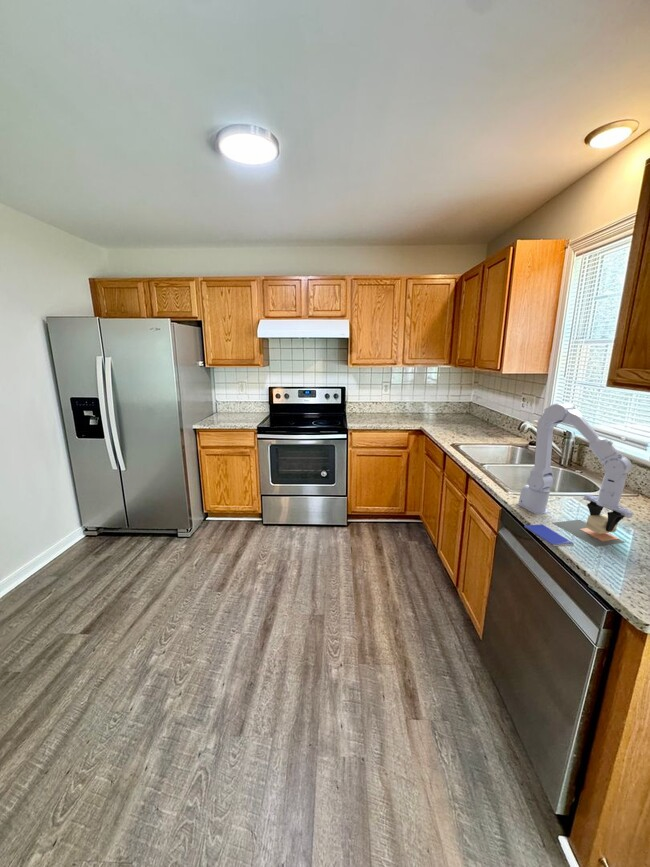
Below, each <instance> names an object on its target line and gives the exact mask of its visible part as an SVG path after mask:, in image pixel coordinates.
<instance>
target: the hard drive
mask: <svg viewBox="0 0 650 867" xmlns="http://www.w3.org/2000/svg"><path fill="white" fill-rule="evenodd" d="M524 528H525V529H527V530H528V531H530V532H531V533H533V534H534V535H536V536H537V537H538V538H540V539H541V540H543V541H545V542H546V543H547V544H548V545H550V546H553V547H557V546H562V547H563V546H571V545H572V544H575V543H574V542H572V541H570V540H569V539H567V538H566V537H564V536H562V535H560V534H559V533H557V532H556V531H555V530H553V529H551V528H549V526H548V527H547V525H544V524H529V525H527V524H526V525H524Z"/></svg>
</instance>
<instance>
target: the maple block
mask: <svg viewBox="0 0 650 867" xmlns="http://www.w3.org/2000/svg"><path fill="white" fill-rule="evenodd" d="M607 522H608V514H606V513H604V514H601V513H600V515H591V516H590V515H588V517H587V519H586V528H588V529H590V530H592V531H594V532H596V533H598V534H602V533H609V534H610V533H616V531H617V527H618V524H619V522H618V523H617V524H616V525H615V527H614V528H613V530H612V531H606V526H607Z"/></svg>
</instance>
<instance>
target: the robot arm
mask: <svg viewBox="0 0 650 867" xmlns="http://www.w3.org/2000/svg"><path fill="white" fill-rule="evenodd" d="M561 423H562V424H567V425H571V426H573V428H574V429H576V430H577V431H578V432H579V433H580V434H581V435H582V436H583V437H584V438H585V439H586V440H587V441H588V443H589V446H588V448H589V449H590V450H591V452H592V453H593V454H594V455H595V457H596V458H597V459H598V460H599V461H600V462H601V463H602V464H603V466H602V467H603V470H604V475H603V478H602V481H601V484H600V488H599V493H598V496H595V495H592V494H588V493H587V494H584V496H583V500H585V501H588V502H589V503H587V504H586V507H588V508H587V509H588V510H589V516H591V515H601V513H602V511H603V509H604V508H605V509H607V510H610V511H608V512H607V515H608V522H607V526H606V531H612V530H613V528H614V527H615V525H616V524H617V523H618V524H619V522H621V520H622V519H624V518H627V519H630V518H633V515H634V512H633V511H631V510H629V509H627V508H625V507H623V506H622V505H620V501H621V499H622V495H623V492H624V488H625V485H626V479H627V476H628V474H627V473H628V472H630V471H631V470H632V467H633V464H632V462H631V459H630V458H628V457H626V456H624V454H623V453H620V451H618V449H617V448H616V447H615V446H613V444H614V442H613V441H612V440H608V438H605V437H600V435H598V433H597V432H596V430H594V428H593V427H592V426H591V424H589V422H588V421H587V420H586V419H585V417H584V415H582V413H581V411H580V410H579V409H577V408H576V407H575V405H573V404H572V403H568V402H566V403H553V404H551V405H548V407H545V408H544V411H543V413H542V415H541V416H540V417H539V419H538V420H537V424H536V436H535V437H536V438H535V439H536V441H535V451H534V452H535V453H534V454H535V455H534V466H533V467H532V468H531V470H530V471H529V472H530V474H529V476H528V478H527V480H526V482H527V484H526V485H524V486H522V488H521V490H520V493H519V494H520V495H519V499H518V502H516V505H518V506H520V507H521V508H524V509H525V510H527V511H529V512H531V513H533V514H534V515H537V514H538V515H539V514H541V515H542V514H548V513H552V511H550V510H549V509H547V505H548V500H549V497H550V493H551V487H553V486H554V485H555V483H556V479H555V476H554V470H553V468H552V467H551V465H552V464H551V463H552V451H553V437H554V428H555V427H556V426H558V425H560V424H561Z"/></svg>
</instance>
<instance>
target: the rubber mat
mask: <svg viewBox="0 0 650 867" xmlns="http://www.w3.org/2000/svg"><path fill="white" fill-rule="evenodd" d="M586 523H587V521H586V522H585V521H584V520H581V519H574V520H566V521H564V520H563V521H556V522H552V524H554V526H557V527H558V528H561V529H563V530H564V531H566V532H568V533H569V534H572V535H574V536H575V537H576V538H579V539H580V540H583V542H585V543H588V544H590V545H592V546H594V547H603V546H611V545H617V544H623V543H624V544H625V543H626V541H624V540H622V539H620V538H619V539H617V540H610V541H601V540H599V539H597V538H595V537H593V536H591V535H589V534H587V533H585V532H583V531H582V530H580V529H583V528H586Z"/></svg>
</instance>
